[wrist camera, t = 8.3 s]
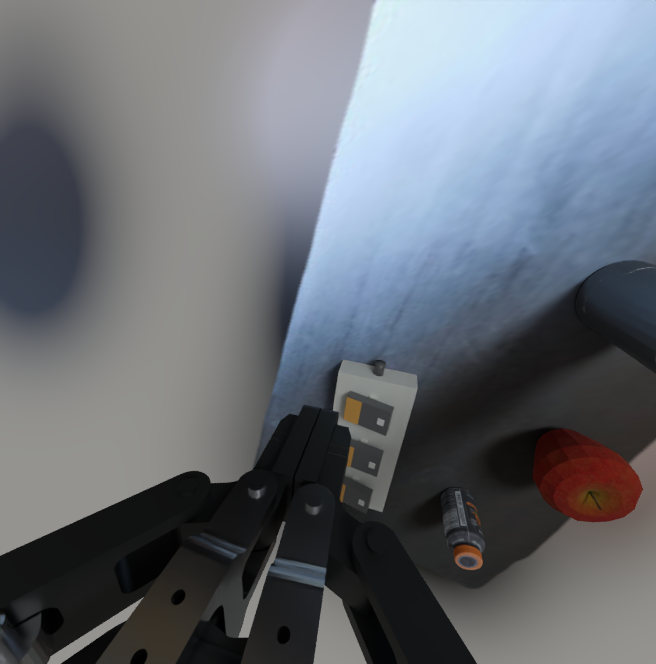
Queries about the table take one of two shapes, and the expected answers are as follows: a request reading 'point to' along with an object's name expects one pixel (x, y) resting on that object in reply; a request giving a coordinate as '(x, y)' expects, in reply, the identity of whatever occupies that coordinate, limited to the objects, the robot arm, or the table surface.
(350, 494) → the rocker
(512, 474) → the table surface
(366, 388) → the power strip
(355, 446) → the block
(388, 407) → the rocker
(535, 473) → the apple
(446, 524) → the pill bottle
